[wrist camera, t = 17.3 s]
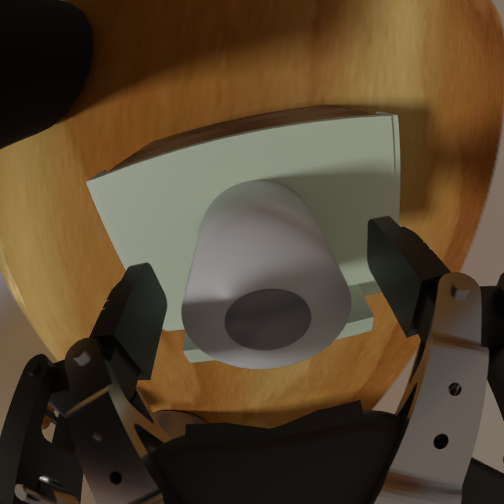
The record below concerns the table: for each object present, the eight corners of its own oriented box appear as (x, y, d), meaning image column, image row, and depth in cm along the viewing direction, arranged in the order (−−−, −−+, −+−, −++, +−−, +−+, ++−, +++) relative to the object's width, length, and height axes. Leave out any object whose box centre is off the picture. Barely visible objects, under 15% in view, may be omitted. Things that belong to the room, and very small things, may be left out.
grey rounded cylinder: (186, 195, 11) (152, 271, 6) (306, 170, 10) (353, 231, 6) (218, 287, 13) (211, 378, 9) (317, 268, 13) (349, 355, 9)
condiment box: (188, 252, 22) (172, 316, 16) (151, 142, 17) (107, 172, 11) (340, 222, 21) (375, 278, 15) (327, 104, 16) (374, 114, 10)
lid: (164, 312, 16) (150, 365, 13) (99, 172, 11) (54, 206, 8) (382, 271, 15) (411, 318, 12) (382, 111, 10) (434, 125, 7)
